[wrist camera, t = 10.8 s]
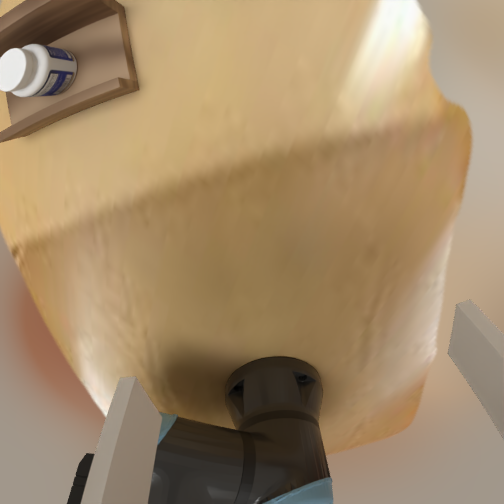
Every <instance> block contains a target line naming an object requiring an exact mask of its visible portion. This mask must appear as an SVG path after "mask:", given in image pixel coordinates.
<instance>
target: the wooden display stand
mask: <svg viewBox="0 0 504 504" xmlns="http://www.w3.org/2000/svg"><path fill="white" fill-rule="evenodd" d="M30 44H40V45H45V46H50V47H55V48H59V49H64V50H67V51H69V52H71V53H72V54H73V56H74V57H75V59H76V63H77V72H76V76H75V79H74V81H73V83H72V84H71V85H70V87H69V88H68V89H67V90H66V91H64V92H63V93H61V94H59V95H54V96H38V97H19V96H16V95H14V94H13V93H12V92H6V97H7V103H8V108H9V114H10V119H11V124H12V126H10V127H8V128H7V129H5V130H3V131H1V132H0V143H1V142H4V141H8V140H12V139H16V138H20V137H24V136H27V135H29V134H31V133H33V132H35V131H37V130H39V129H41V128H43V127H45V126H48V125H50V124H52V123H54V122H56V121H59V120H61V119H63V118H65V117H68V116H70V115H72V114H75V113H77V112H80V111H82V110H85V109H87V108H90V107H92V106H95V105H97V104H100V103H103V102H105V101H108V100H111V99H114V98H116V97H119V96H122V95H125V94H128V93H131V92H134V91H137V90H139V86H138V82H137V77H136V72H135V67H134V62H133V56H132V51H131V46H130V40H129V35H128V29H127V23H126V17H125V11H124V7H123V6H122V5H121V4H119V3H118V2H117V1H115V0H26V1H24V2H22V3H21V4H19V5H18V6H16V7H15V8H13V9H12V10H10V11H9V12H7V13H6V14H4V15H3V16H2V17H0V58H1V57H2V55H3V54H4V53H5V52H7V51H8V50H10V49H13V48H23V47H24V46H27V45H30Z"/></svg>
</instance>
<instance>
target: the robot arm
mask: <svg viewBox="0 0 504 504" xmlns="http://www.w3.org/2000/svg"><path fill="white" fill-rule="evenodd" d="M448 354H449V356H450V357H451V359H452V360H453V362H454V363H455V365H456V366H457V367H458V369H459V370H460V372H461V373H462V375H463V376H464V378H465V379H466V381H467V382H468V383H469V385H470V387H471V388H472V390H473V391H474V393H475V394H476V396H477V397H478V399H479V400H480V402H481V403H482V405H483V406H484V408H485V410H486V411H487V413H488V415H489V416H490V417H491V419H492V421H493V423H494V424H495V426H496V428H497V429H498V431H499V433H500V434H501V436H502V438H503V439H504V334H503V333H502V332H501V331H500V330H499V329H498V328H497V327H496V325H495V324H494V323H493V322H492V321H491V320H490V319H489V318H488V317H487V316H486V315H485V314H484V313H483V312H482V311H481V310H480V309H479V308H478V307H477V306H476V305H475V304H474V303H473V302H472V301H471V300H467V301H465V302H462V303H459V304H456V310H455V316H454V322H453V328H452V334H451V339H450V344H449V349H448ZM322 397H323V389H322V384H321V381H320V377H319V375H318V373H317V371H316V370H315V369H314V368H313V367H312V366H310V365H309V364H307V363H305V362H303V361H300V360H297V359H293V358H287V357H271V358H264V359H260V360H256V361H253V362H250V363H248V364H246V365H244V366H242V367H241V368H239V369H238V370H236V371H235V372H234V373H233V374H232V375H231V377H230V378H229V380H228V382H227V384H226V392H225V401H226V406H227V409H228V411H229V414H230V416H231V418H232V421H233V423H234V426H235V428H236V430H235V429H230V428H225V427H220V426H215V425H211V424H206V423H202V422H198V421H193V420H189V419H185V418H181V417H178V415H177V414H173V415H170V414H166V413H162V412H158V410H157V409H156V407H155V406H154V404H153V403H152V401H151V400H150V398H149V396H148V395H147V393H146V392H145V390H144V389H143V387H142V385H141V384H140V382H139V381H138V379H137V377H125V378H120V379H119V382H118V385H117V388H116V391H115V394H114V396H113V399H112V402H111V405H110V408H109V411H108V414H107V417H106V420H105V423H104V426H103V429H102V432H101V435H100V439H99V442H98V445H97V448H96V451H95V454H89V453H87V454H86V455H85V456H84V458H83V459H82V460H81V462H80V463H79V466H78V469H77V472H76V477H75V478H74V482H73V486H72V488H71V492H70V495H69V499H68V502H67V504H333V492H332V479H331V477H330V473H329V468H328V464H327V460H326V455H325V450H324V446H323V441H322V437H321V432H320V428H319V423H318V420H319V414H320V409H321V403H322Z"/></svg>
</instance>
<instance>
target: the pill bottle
mask: <svg viewBox="0 0 504 504" xmlns="http://www.w3.org/2000/svg"><path fill="white" fill-rule="evenodd" d="M76 72H77V63H76V59H75V57H74V56H73V54H72V53H71V52H69V51H67V50H64V49H59V48H55V47H50V46H45V45H40V44H30V45H27V46H24V47H23V48H13V49H10V50H8V51H7V52H5V53H4V54H3V55H2V57H1V58H0V90H2V91H5V92H12V93H13V94H14V95H16V96H19V97H38V96H54V95H59V94H61V93H63V92H64V91H66V90H67V89H68V88H69V87H70V85H71V84H72V83H73V81H74V79H75V76H76Z"/></svg>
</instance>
